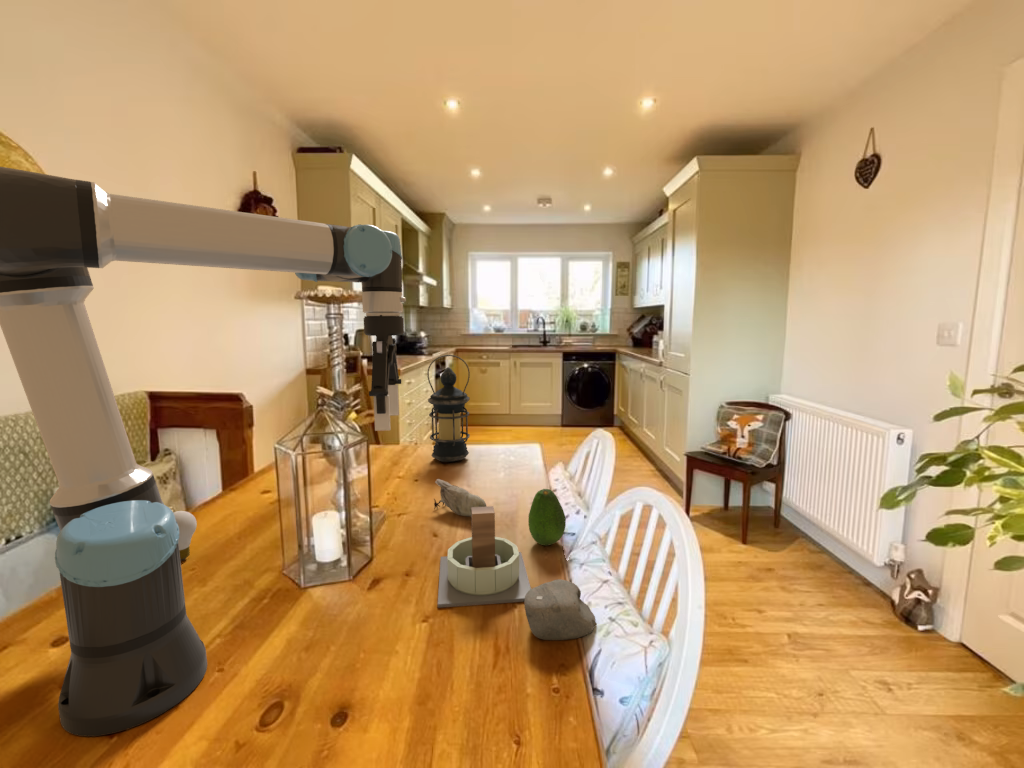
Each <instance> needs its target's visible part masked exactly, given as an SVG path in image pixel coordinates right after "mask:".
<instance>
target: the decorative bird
mask: <svg viewBox="0 0 1024 768" xmlns="http://www.w3.org/2000/svg"><path fill="white" fill-rule="evenodd" d="M434 483H435V484H436V485H437V486H438V487H440V489H439V491H440V500H439V501H438V502H437V501H436V499H435V498H433V500H434V503H433V506H434V509H433V510H434V511H435V510H438V509H439V508H441V506H440V504H441V503H442V506H445V507H447V508H448V509H449V510H451V511H452V512H453V513H454V514H456V515H458V516H462V517H463V516H464V517H471V507H488V506H487V504H486V501H485V500H484V499H483V497H481V496H479V495H476V494H473V493H470V492H469V491H468V490H467V489H465V488H464V487H460V486H457V485H454V484H451V483H450V482H448V481H445V480H443V479H440V478H437V479H436V480H435V481H434Z"/></svg>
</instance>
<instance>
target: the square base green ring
mask: <svg viewBox="0 0 1024 768" xmlns="http://www.w3.org/2000/svg"><path fill="white" fill-rule="evenodd" d="M438 579H439V581H438V590H437V591H438V592H437V593H438V594H437V608H450V607H452V608H453V607H454V608H455V607H465V606H466V607H467V606H478V605H481V606H483V605H493V604H497V605H498V604H508V603H509V604H510V603H524V600H525V595H526V593H527V592H528V591H529V590H530V589H532V587H531V584H530V580H529V576H528V572H527V568H526V565H525V561H524V558H523V553H522V552H521V551H519V548H518V545H517V544H515V543H514V542H512V541H511V540H509V539H508V538H503V537H500V536H499V537H498V536H495V567H484V568H474V567H472V536H471V537H467V538H464V539H461V540H458V541H456V542H455V543H453V544H452V545H451V546H450V547H449V548H447V556H440V563H439V578H438Z"/></svg>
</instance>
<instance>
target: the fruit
mask: <svg viewBox="0 0 1024 768" xmlns="http://www.w3.org/2000/svg"><path fill="white" fill-rule="evenodd" d="M530 505H531V506H530V508H529V512H528V528H529V529H528V530H529V533H530V535H531V537H532V539H534V541H535V543H537V544H539V545H542V546H551V545H554V544H556V543H558V542H559V541H560V540H561V539H562V537H563V535H564V533H565V531H566V525H567V523H566V515H565V512H564V509H563V507H562V504H561V503H560V500H559V498H558V496H557V494H556V493H555V492H554V491H552V489H549V488H543V489H540V490H537V492H536V493H535V495H534V497H533V500H532V502H531V504H530Z"/></svg>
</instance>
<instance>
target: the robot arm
mask: <svg viewBox="0 0 1024 768" xmlns="http://www.w3.org/2000/svg"><path fill="white" fill-rule="evenodd" d="M401 245H402V244H401V239H400V237H399V235H398V233H396V232H393V231H388V230H382V229H380V228H379V227H378V226H375V225H372V224H355V225H353V226H347V225H346V226H345V225H344V226H343V225H338V224H328V223H323V222H315V221H309V220H300V219H294V218H287V217H279V216H272V215H264V214H258V213H251V212H244V211H243V212H242V211H236V210H229V209H222V208H214V207H207V206H202V205H201V206H200V205H193V204H185V203H179V202H178V203H177V202H173V201H164V200H158V199H157V200H156V199H150V198H142V197H134V196H128V195H120V194H112V193H109V192H107V191H105V190H104V189H103V188H102V187H100V186H99V185H98V184H97V183H96V182H94V181H87V180H81V179H75V178H68V177H63V176H56V175H51V174H46V173H42V172H41V173H40V172H35V171H29V170H24V169H16V168H11V167H7V166H0V328H1V330H2V331H1V332H2V334H3V336H4V339H5V342H6V345H7V348H8V351H9V353H10V355H11V358H12V361H13V363H14V364H13V365H14V367H15V369H16V371H17V374H18V377H19V380H20V383H21V385H22V387H23V388H22V389H23V391H24V393H25V396H26V398H27V401H28V404H29V407H30V409H31V413H32V415H33V417H34V421H35V423H36V426H37V428H38V430H39V433H40V436H41V439H42V441H43V444H44V447H45V450H46V452H47V455H48V457H49V461H50V463H51V466H52V468H53V471H54V473H55V476H56V479H57V483H58V485H59V486H58V489H57V490H56V491H55V493H54V494H53V495H52V496H51V498H50V499H49V504H50V508H51V510H52V513H53V515H54V519H55V521H56V523H57V527H58V528H59V532H58V535H57V538H56V541H55V542H56V543H55V544H56V545H55V552H54V562H55V566H56V569H57V570H58V572H59V576H60V577H59V578H60V579H59V580H60V584H61V585H60V586H61V592H62V598H63V599H62V600H63V603H64V604H63V606H64V611H65V618H66V620H65V621H66V627H67V633H68V640H69V641H68V642H69V646H70V647H69V648H70V657H69V660H68V665H67V668H66V672H65V674H64V678H63V682H62V686H61V690H60V694H59V697H58V701H57V702H58V703H57V705H58V706H57V708H58V714H59V720H60V724H61V727H62V728H63V730H65V731H66V732H68V733H69V734H72V735H75V736H80V737H97V736H98V737H99V736H106V735H110V734H111V735H112V734H115V733H118V732H119V733H120V732H122V731H125V730H129V729H131V728H134V727H137V726H140V725H142V724H145V723H146V722H149V721H151V720H152V719H154V718H157V717H159V716H160V715H162V714H165V712H167V711H168V710H170V709H172V708H174V707H175V706H176V705H178V704H179V703H180V702H182V701H183V700H184V699H185V698H187V697H188V696H189V695H190V694H191V693H192V692H193V691H194V690H195V689H196V688H197V686H199V684H200V683H201V681H202V680H203V678H204V676H205V675H206V672H207V668H208V659H207V658H208V657H207V649H206V645H205V644H204V642H203V641H202V639H201V638H200V636H199V634H198V632H197V630H196V629H195V627H194V625H193V624H192V621H190V619H189V617H188V615H187V609H186V599H185V589H184V581H183V574H182V561H180V552H179V543H178V540H179V527H178V524H177V522H176V520H175V515H174V513H173V512H174V511H173V510H172V509H171V508H170V507H169V506H168V505H165V504H164V502H163V499H162V497H161V494H160V491H159V488H158V485H157V481H156V478H155V476H154V473H153V470H152V469H151V468H148V467H145V466H142V465H140V464H138V463H137V461H136V458H135V456H134V455H135V454H134V451H133V449H132V446H131V442H130V440H129V437H128V434H127V431H126V427H125V425H124V421H123V419H122V414H121V412H120V409H119V406H118V403H117V399H116V398H115V397H116V396H115V393H114V391H113V388H112V385H111V382H110V379H109V375H108V372H107V370H106V366H105V364H104V360H103V357H102V354H101V350H100V348H99V347H100V346H98V345H99V344H98V341H97V339H96V336H95V333H94V329H93V327H92V323H91V320H90V318H89V315H88V312H87V308H86V306H85V301H86V299H87V298H88V296H89V295H90V294H91V292H93V290H94V284H93V282H92V278H91V274H90V272H89V268H91V269H104V268H105V267H106V266H107V265H109V264H110V263H112V262H115V261H116V262H118V261H119V262H127V263H128V262H131V263H145V264H147V263H148V264H159V265H161V264H162V265H176V266H177V265H178V266H189V267H191V266H192V267H203V268H204V267H207V268H222V269H237V270H252V271H265V272H266V271H268V272H269V271H270V272H284V273H294V274H295V276H296V277H297V278H298V279H299V280H303V281H311V282H312V281H313V282H315V283H318V282H334V283H335V282H338V283H343V282H344V283H347V282H348V283H361V297H362V299H361V300H362V301H361V302H362V303H361V304H362V313H363V314H365V316H364V317H363V333H364V335H366V336H369V337H370V336H371V337H373V336H374V337H375V341H372V343H371V346H372V363H371V364H372V365H371V366H372V368H371V387H370V388H371V389H370V390H369V391H368V396H369V397H373V411H374V412H373V413H374V414H373V416H374V418H373V419H374V431H375V432H376V431H380V432H381V431H383V432H384V431H391V416H400V407H399V406H400V405H399V401H400V399H399V385H401V384H402V378H400V375H399V369H398V358H397V341H396V338H395V337H393V336H402V335H404V333H405V325H404V324H405V323H404V317H403V316H402V315H400V314H401V313H404V306H403V305H404V304H403V303H405V302H407V299H406V297H404V296H403V276H402V275H403V271H402V260H403V255H402V246H401Z"/></svg>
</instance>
